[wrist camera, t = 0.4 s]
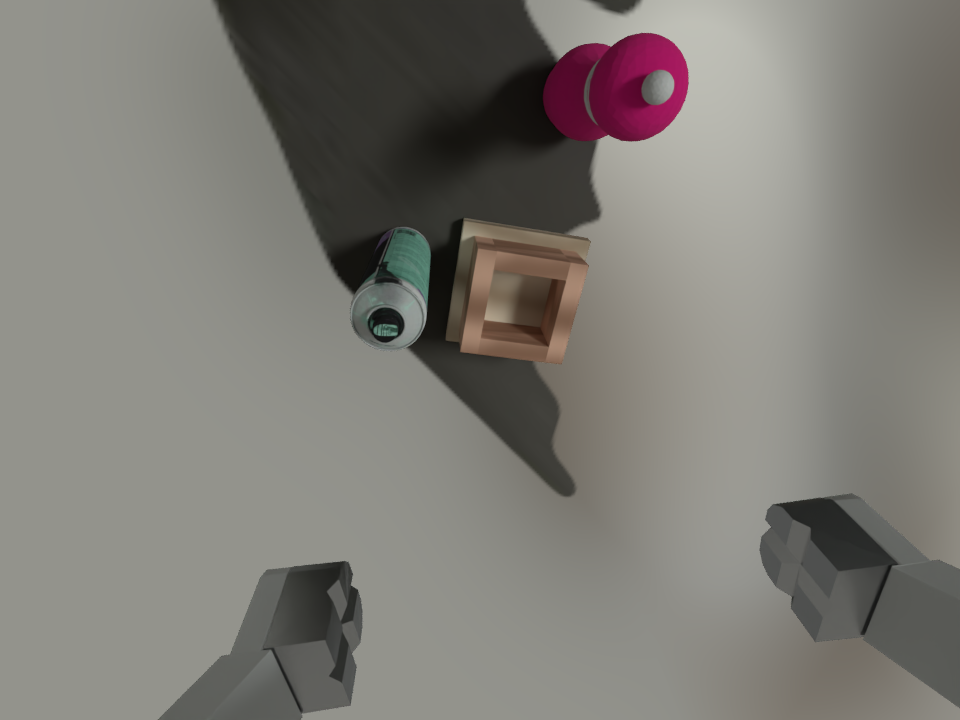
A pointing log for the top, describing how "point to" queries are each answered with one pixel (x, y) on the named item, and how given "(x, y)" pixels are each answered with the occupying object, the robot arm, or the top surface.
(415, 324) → the spray can
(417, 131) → the top surface
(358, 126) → the top surface
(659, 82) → the pepper mill
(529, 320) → the can holder
